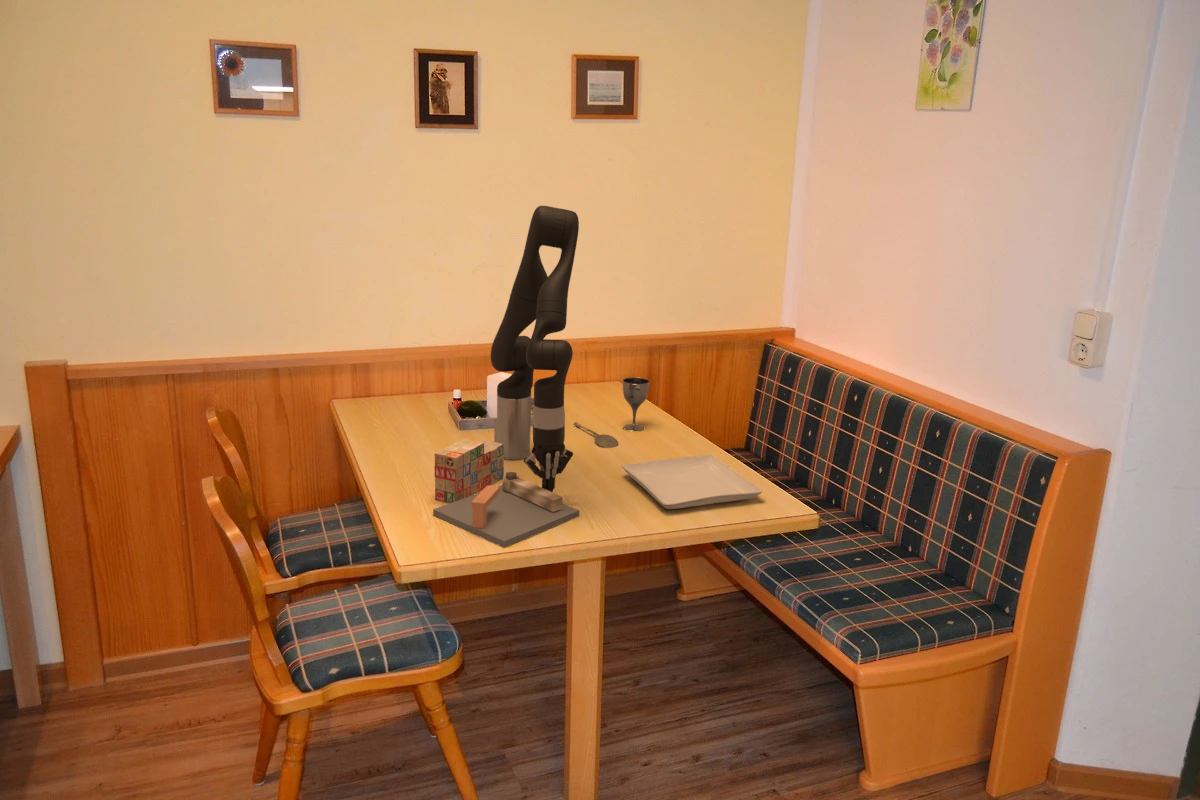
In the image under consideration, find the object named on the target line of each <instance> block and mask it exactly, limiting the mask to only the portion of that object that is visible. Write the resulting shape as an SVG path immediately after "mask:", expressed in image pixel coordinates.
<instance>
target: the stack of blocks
mask: <svg viewBox="0 0 1200 800" xmlns="http://www.w3.org/2000/svg"><path fill="white" fill-rule="evenodd" d="M504 465H505V459H504V455H503V444H501V443H496V442H494V441H491V440H490V441H489V440H487V439H486V440H484V439H482V440H481V441H476V440H471V439H467V438H462V439H461V440H458V441H457V442H454V443H453V444H451V445H448V446H447V447H445V448H443V449H440V450H438V451H436V452H434V486H435V487H434V494H435V496H434V497H435V498H434V499H435V501H438V502H439V501H440V502H444V503H447V504H449V503H452V502H455V501H458V500H461V499H464V498H466V497H469V496H472V495H474V494H478V493H480V492H481V491H482V490H483V489H484V488H485V487H486V486H491V485H493V484H495V483H496V482H498V481H500V480H502V479H503V476H505V475H504V474H505V473H504V472H505V469H504V467H505V466H504Z"/></svg>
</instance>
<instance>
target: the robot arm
mask: <svg viewBox="0 0 1200 800" xmlns="http://www.w3.org/2000/svg"><path fill="white" fill-rule="evenodd" d="M579 227H580V222H579V216H578V214H577V212H576V211H573V210H569V209H564V208H559V207H553V206H550V205H549V206H548V205H538V206H537V207H535V210H534V212H533V213H532V216H531V219H530V224H529V227H528V232H527V237H526V240H525V246H524V250H523V254H522V257H521V261H520V263H519V264H520V265H519V266H518V270H517V272H516V273H517V274H516V277H515V279H514V282H513V285H512V289H511V291H510V295H509V299H508V303H507V306H506V310H505V313H504V315H503V318H502V321H501V323H500V326H499V327H498V330H497V332H496V335H495V337H494V339H493V341H492V345H491V350H490V362H491V365H492V367H493V368H494V370H496V371H498V372H501V373H502V372H503V373H506V372H513V373H511V375H510V376H509V377H508V378H506V379H504V380H502V381H500V382H499V383H498V384H497V387H496V407H497V408H496V419H494V423H493V424H494V430H493V431H494V435H493V437H494V438H493V439H494V441H493V442H496V443H501V444H503V455H504V460H522V459H523V461H522V462H523V463H524V464H525V465H526V466H527V468H529V470H530V471H531V472H532V473H533V474H534V475H535V476H537V477H538V478H540V479H541V487H542V488H544V489H546V490H548V491H551V492H553V493H554V490H555V488H556V476H557V475H559V474H562V473H563V472H564V470H565V469H566V467H567V465H568V464H569V461H571V459H572V457H573V455H574V452H573V451H572V450H569V449H567V448H566V445H565V438H566V437H565V436H566V433H565V431H566V424H565V423H566V411H565V385H566V380H567V376H568V373H569V369H570V365H571V363H572V359H573V354H574V352H573V348H572V347H573V346H572V345H571V343H570V342H568V341H567V340H566V339H549V338H548V339H547V338H546V336H548V335H550V334H554V333H559V332H561V331H564V330H565V329H566V326H567V314H568V297H569V288H570V283H571V278H572V273H573V272H572V271H573V267H574V262H575V255H576V250H577V244H578V236H579V231H580V228H579ZM542 246H545V247H551V248H556V249H560V250H561V251H560V255H559V256H560V257H559V260H558V262H557V263H556V265H555V267H554V269H553V270H552V272H551V273H550V274H549V275H548V274H547V271H546V269H545V267H544V264H543V261H542V258H541V255H540V248H541V247H542ZM534 322H535V324H534V327H533V330H532V331H533V332H532V335H531V337H529V336H528V335H521V333H523V332H524V330H526V329H527V328H528V327H529V326H530V325H531V324H533V323H534ZM534 370H538V371H539V370H540V371H556V372H555V374H553V375H552V376H548V377H543V378H539V379H537V380H536V381H534ZM532 388H533V408H532ZM532 409H533V410H532ZM531 415H532V416H531ZM531 418H532V420H531ZM531 425H532V444H533V447H532V448H531ZM537 462H538V465H537ZM538 466H539V467H538Z"/></svg>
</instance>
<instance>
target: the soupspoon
mask: <svg viewBox="0 0 1200 800" xmlns="http://www.w3.org/2000/svg"><path fill="white" fill-rule="evenodd" d="M573 425H575V426H574V427H576V426H577V428H582V429H584V430H585V431H587V432H589V433H590V434H593V436H595V437H594V442H595V443H596V444H597V445H598V446H599V447H600V448H601V447H602V449H603V448H604V449H613V448H616V447H618V446H619V441H618V440H617V439H616V437H614V436H612V435H610V434H603V433H602V434H599V433H597V432H596V431H593V430H592V429H590V428H588V427H586V426H583V425H581V424H579V423H578V422H577V421H575V422H573V424H572V426H573Z"/></svg>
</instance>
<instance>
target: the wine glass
mask: <svg viewBox="0 0 1200 800" xmlns="http://www.w3.org/2000/svg"><path fill="white" fill-rule="evenodd" d="M649 389H650V380H649V379H647V378H644V377H638V376H631V377H629V376H628V377H624V378H623V379H622V393H623V398H624V399H625V401H626V403H627V404H628V405H629V406H630V408H631V411H632V423H628V425H627V424H625V426H624V425H623V426H624V427H623V428H625V429H626V430H625V431H627V430H632V431H639V432H643V431H645V430H644V427H645V426H644V425H642V424H638V425H637V422H636V417H637V411H638V409H639V408H640V406H641V405H642V404H643V403H644V402H645V401H646V399H647V398H648V394H649ZM641 425H642V426H641ZM623 428H622V429H623ZM642 430H643V431H642ZM632 431H631V432H632Z"/></svg>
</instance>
